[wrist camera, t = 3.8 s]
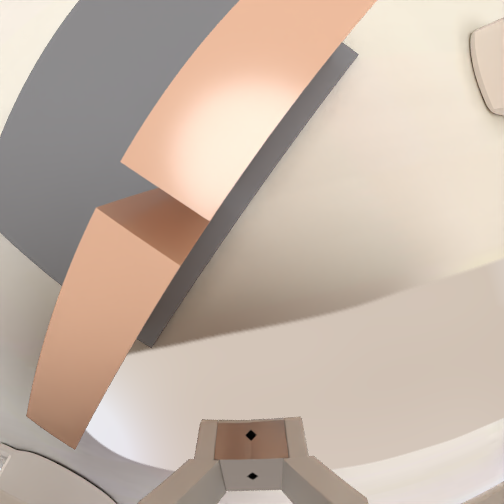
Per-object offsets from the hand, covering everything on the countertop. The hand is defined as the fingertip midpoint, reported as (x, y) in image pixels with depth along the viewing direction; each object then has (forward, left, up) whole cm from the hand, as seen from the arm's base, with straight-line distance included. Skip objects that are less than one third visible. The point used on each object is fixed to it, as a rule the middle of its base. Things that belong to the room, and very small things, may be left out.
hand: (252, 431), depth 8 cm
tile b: (+9, +5, -8) cm, 13 cm away
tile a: (0, +5, -8) cm, 9 cm away
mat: (+5, +11, -8) cm, 14 cm away
